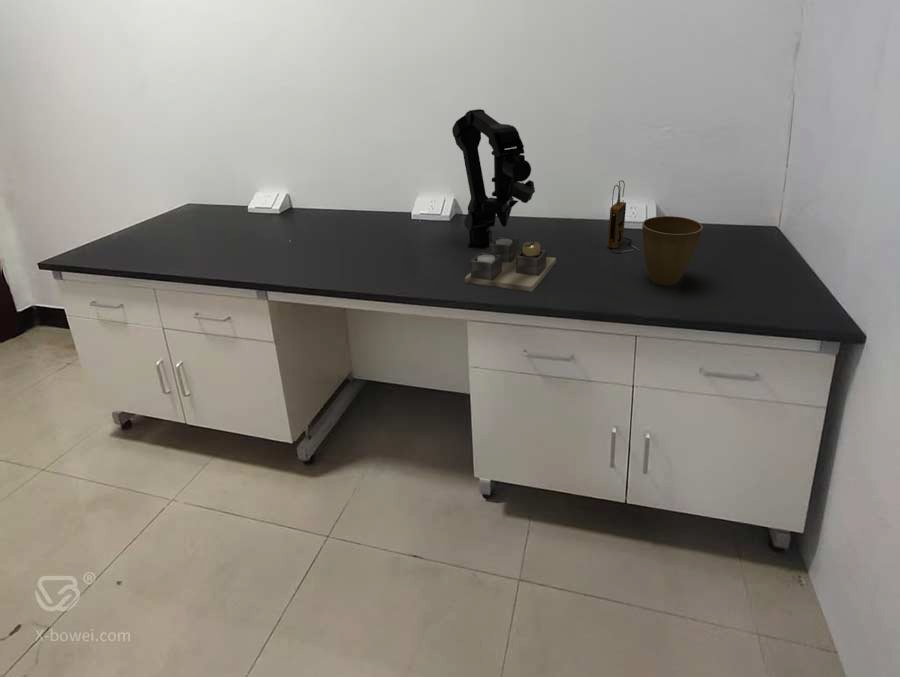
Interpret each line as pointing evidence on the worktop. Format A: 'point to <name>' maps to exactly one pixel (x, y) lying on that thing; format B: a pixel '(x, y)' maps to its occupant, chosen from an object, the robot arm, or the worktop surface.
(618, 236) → the multimeter
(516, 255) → the mount
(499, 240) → the knob back
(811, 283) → the worktop surface
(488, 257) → the knob front
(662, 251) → the plant pot
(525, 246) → the brass dial
